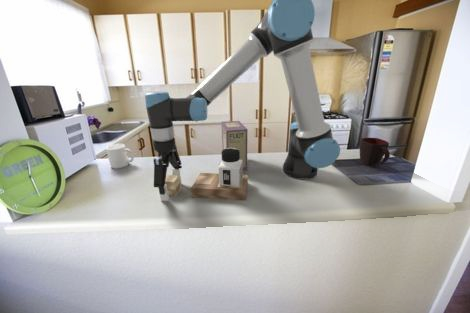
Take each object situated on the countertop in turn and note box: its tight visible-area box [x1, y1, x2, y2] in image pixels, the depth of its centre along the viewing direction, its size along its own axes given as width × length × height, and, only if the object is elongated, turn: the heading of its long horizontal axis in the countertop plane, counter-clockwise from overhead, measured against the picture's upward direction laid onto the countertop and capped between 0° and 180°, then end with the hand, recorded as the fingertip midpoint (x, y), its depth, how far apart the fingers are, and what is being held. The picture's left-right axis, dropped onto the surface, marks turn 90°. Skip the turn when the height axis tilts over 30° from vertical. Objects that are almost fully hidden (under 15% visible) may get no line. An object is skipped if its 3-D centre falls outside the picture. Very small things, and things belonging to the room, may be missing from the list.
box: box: [220, 120, 249, 172], centre depth 97 cm, size 17×9×20 cm, turn 11°
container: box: [217, 148, 244, 187], centre depth 75 cm, size 8×8×13 cm
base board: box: [190, 172, 249, 201], centre depth 78 cm, size 20×12×4 cm, turn 83°
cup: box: [105, 143, 135, 169], centre depth 100 cm, size 8×12×10 cm
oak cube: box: [165, 174, 182, 196], centre depth 78 cm, size 5×5×6 cm
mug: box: [359, 137, 391, 168], centre depth 94 cm, size 10×14×12 cm
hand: (171, 191), depth 79 cm, fingers open, 12 cm apart
